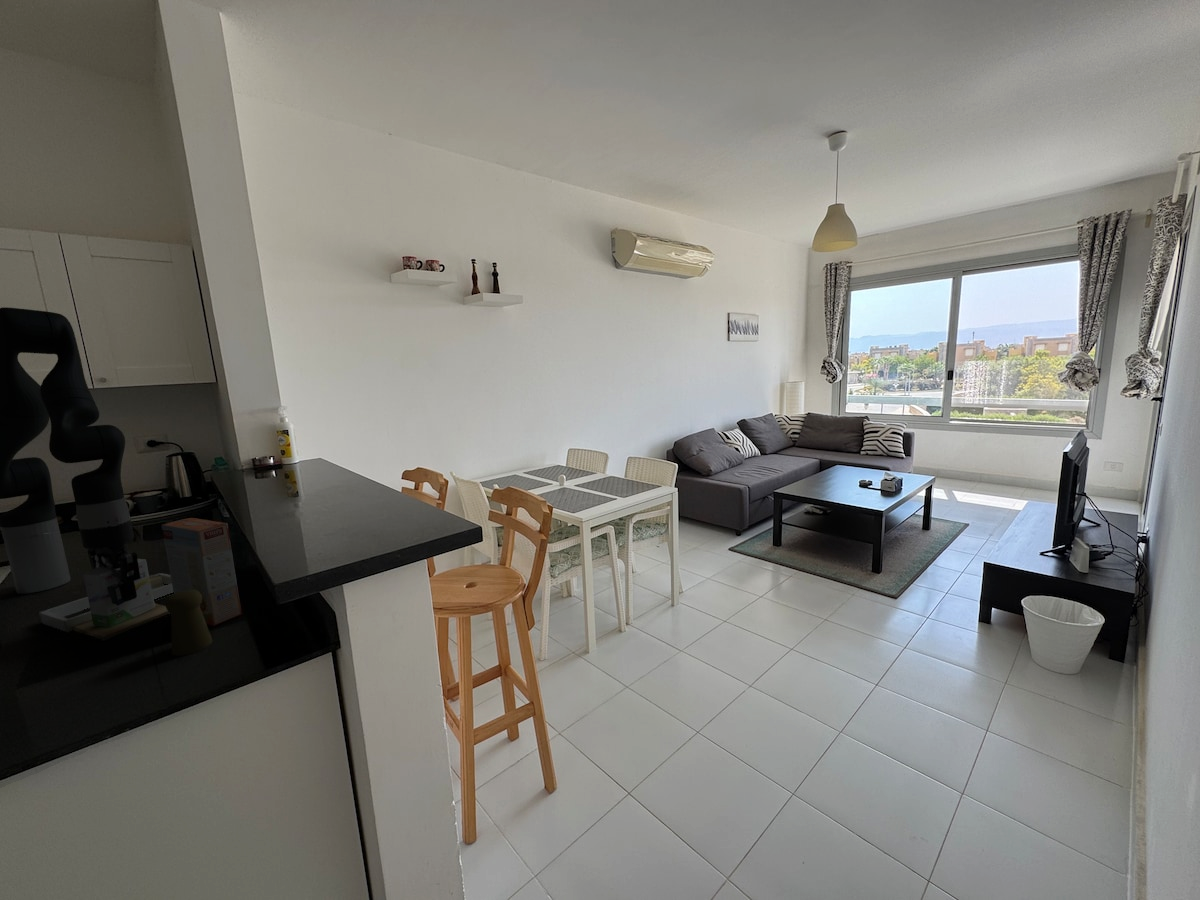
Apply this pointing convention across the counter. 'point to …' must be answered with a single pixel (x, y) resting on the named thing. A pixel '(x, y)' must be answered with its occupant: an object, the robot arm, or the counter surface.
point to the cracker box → (203, 565)
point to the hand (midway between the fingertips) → (121, 597)
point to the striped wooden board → (128, 624)
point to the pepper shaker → (187, 623)
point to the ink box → (116, 596)
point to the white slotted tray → (57, 614)
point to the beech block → (155, 581)
